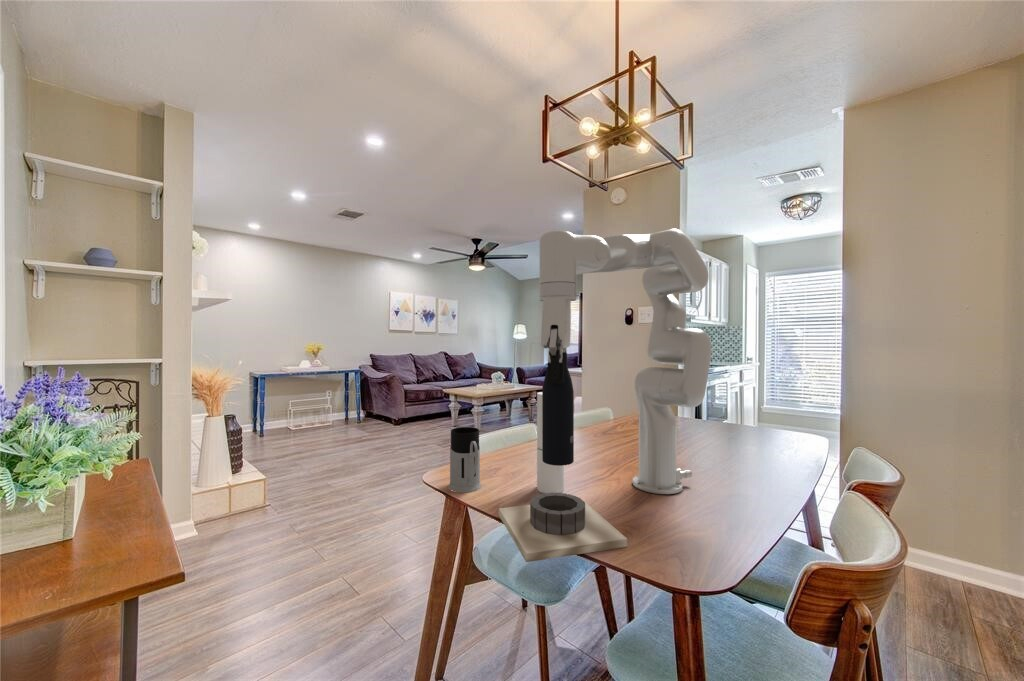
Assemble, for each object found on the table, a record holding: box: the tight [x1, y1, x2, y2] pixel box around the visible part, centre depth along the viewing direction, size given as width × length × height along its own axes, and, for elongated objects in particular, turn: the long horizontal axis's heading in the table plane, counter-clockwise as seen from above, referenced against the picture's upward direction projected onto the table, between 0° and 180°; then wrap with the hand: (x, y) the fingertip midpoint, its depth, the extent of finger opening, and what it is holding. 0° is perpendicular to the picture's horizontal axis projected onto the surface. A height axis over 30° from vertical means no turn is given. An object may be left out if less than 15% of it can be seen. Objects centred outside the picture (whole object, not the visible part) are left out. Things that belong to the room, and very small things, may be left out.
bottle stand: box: [498, 492, 628, 563], centre depth 84 cm, size 20×20×6 cm
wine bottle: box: [541, 340, 575, 466], centre depth 84 cm, size 6×6×30 cm
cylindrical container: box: [536, 391, 565, 494], centre depth 107 cm, size 7×7×25 cm
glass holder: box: [448, 426, 482, 494], centre depth 106 cm, size 9×14×15 cm, turn 23°
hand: (557, 380), depth 84 cm, fingers closed on wine bottle, 5 cm apart
